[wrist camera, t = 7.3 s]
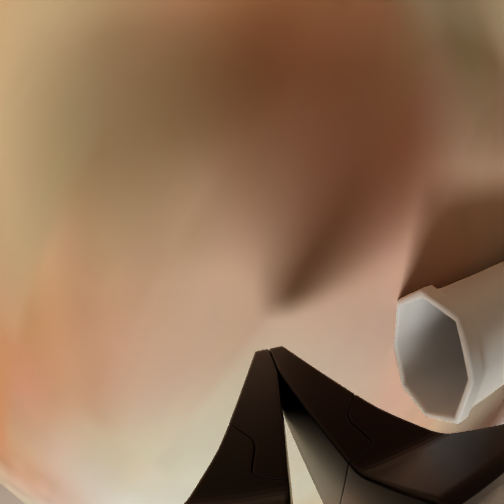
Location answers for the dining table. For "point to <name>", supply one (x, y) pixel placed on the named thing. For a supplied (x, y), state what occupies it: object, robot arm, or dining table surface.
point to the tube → (452, 344)
